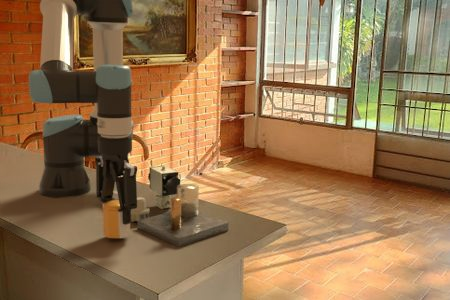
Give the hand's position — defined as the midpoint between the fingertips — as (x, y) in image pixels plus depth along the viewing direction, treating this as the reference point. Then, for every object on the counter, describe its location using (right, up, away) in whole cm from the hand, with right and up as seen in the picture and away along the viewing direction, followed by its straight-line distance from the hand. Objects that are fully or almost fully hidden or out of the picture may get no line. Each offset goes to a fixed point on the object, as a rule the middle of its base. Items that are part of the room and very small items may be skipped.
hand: (116, 232), depth 115 cm
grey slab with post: (+15, -1, +8) cm, 17 cm away
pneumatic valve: (+8, +3, +25) cm, 26 cm away
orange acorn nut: (0, 0, 0) cm, 0 cm away
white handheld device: (-3, +2, +21) cm, 21 cm away
